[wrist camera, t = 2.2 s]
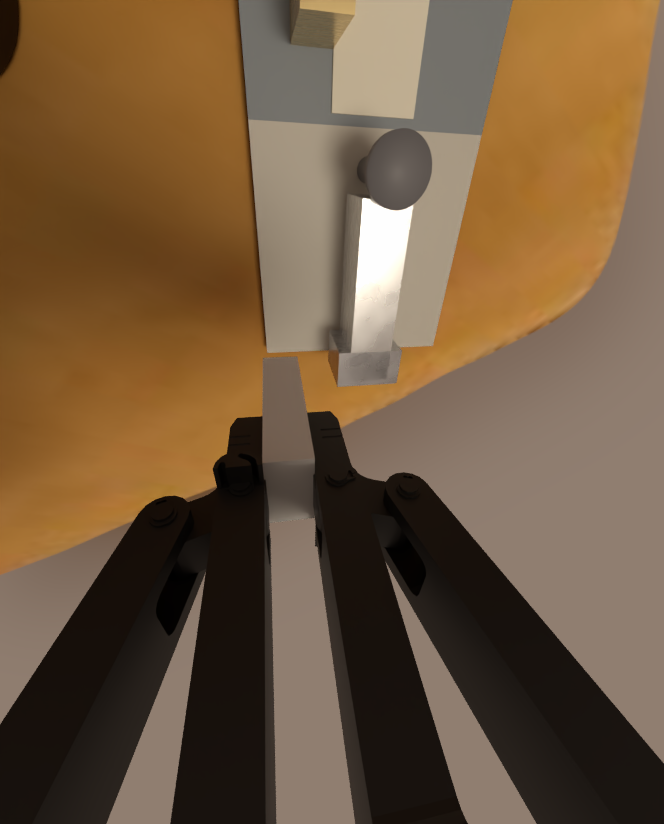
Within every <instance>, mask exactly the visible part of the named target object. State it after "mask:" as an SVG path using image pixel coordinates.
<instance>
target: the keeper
mask: <svg viewBox="0 0 664 824" xmlns="http://www.w3.org/2000/svg"><path fill="white" fill-rule="evenodd" d="M355 5H356V0H289V9H290V45H298V46H307V47H317V48H326V49H334V47H335V45H336V44H337V42H338V41H339V39H340V38H341V36H342V35H343V33H344V31H345V30H346V28H347V27H348V25H349V24H350V22H351V21H352V19H353V17H354V16H355Z"/></svg>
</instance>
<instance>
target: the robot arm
mask: <svg viewBox="0 0 664 824" xmlns="http://www.w3.org/2000/svg"><path fill="white" fill-rule="evenodd" d="M213 472H214V476H215V481H216V485H217V489H216V490H214V491H213V492H211V493H210V494H209V495H206V496H204V497H202V498H199V499H196V500H193V501H190V502H187V501H186V500H185V499H183V498H181V497H178V496H165V497H162V498H159V499H156V500H154V501H152V502H151V503H149V504H148V505H146V506H145V507H144V508H143V509H142V510H141V512H140V513H139V514H138V516H137V517H136V519H135V520H134V522H133V523H132V525H131V526H130V528H129V529H128V531H127V532H126V534H125V535H124V537H123V538H122V540H121V541H120V543H119V545H118V546H117V548H116V549H115V551H114V552H113V554H112V555H111V557H110V558H109V560H108V561H107V563H106V564H105V566H104V567H103V569H102V570H101V572H100V573H99V575H98V577H97V578H96V579H95V581H94V583H93V584H92V586H91V587H90V589H89V590H88V592H87V593H86V595H85V596H84V598H83V599H82V601H81V602H80V604H79V605H78V607H77V608H76V610H75V611H74V613H73V615H72V616H71V618H70V619H69V621H68V622H67V624H66V625H65V627H64V628H63V630H62V631H61V633H60V634H59V636H58V637H57V639H56V640H55V642H54V643H53V645H52V646H51V648H50V650H49V651H48V652H47V654H46V656H45V657H44V659H43V660H42V662H41V663H40V665H39V666H38V668H37V669H36V671H35V672H34V674H33V675H32V677H31V678H30V680H29V682H28V683H27V684H26V686H25V688H24V689H23V691H22V692H21V694H20V695H19V697H18V698H17V700H16V701H15V703H14V704H13V706H12V707H11V709H10V710H9V712H8V713H7V715H6V717H5V718H4V719H3V721H2V723H1V724H0V824H106V823H107V821H108V818H109V815H110V812H111V810H112V808H113V805H114V803H115V800H116V798H117V795H118V793H119V790H120V788H121V785H122V782H123V780H124V777H125V775H126V772H127V770H128V767H129V764H130V762H131V760H132V757H133V755H134V752H135V749H136V747H137V744H138V742H139V739H140V737H141V734H142V732H143V729H144V727H145V724H146V722H147V719H148V716H149V714H150V711H151V709H152V706H153V704H154V701H155V699H156V696H157V694H158V691H159V689H160V686H161V683H162V681H163V678H164V676H165V673H166V671H167V668H168V666H169V663H170V661H171V658H172V656H173V653H174V651H175V648H176V646H177V643H178V640H179V638H180V635H181V633H182V630H183V628H184V625H185V623H186V620H187V618H188V615H189V613H190V610H191V607H192V605H193V602H194V600H195V597H196V595H197V592H198V590H199V587H200V585H201V582H202V580H203V577H204V574H205V572H206V575H205V582H204V589H203V597H202V604H201V610H200V617H199V618H200V619H199V625H198V632H197V640H196V647H195V653H194V660H193V667H192V675H191V681H190V688H189V696H188V703H187V710H186V717H185V724H184V731H183V738H182V745H181V753H180V759H179V766H178V774H177V781H176V788H175V795H174V802H173V809H172V816H171V823H170V824H276V790H275V789H276V786H275V738H274V737H275V736H274V692H273V691H274V689H273V638H272V593H271V591H272V590H271V589H272V588H271V539H270V530H269V523H272V522H281V521H290V520H299V519H308V518H314V515H315V521H316V532H315V533H316V534H315V536H316V537H315V546H317V547H318V554H319V562H320V569H321V576H322V584H323V591H324V598H325V606H326V612H327V620H328V627H329V635H330V642H331V649H332V656H333V664H334V671H335V678H336V686H337V693H338V700H339V708H340V714H341V722H342V729H343V736H344V744H345V751H346V759H347V766H348V773H349V780H350V788H351V795H352V802H353V810H354V817H355V824H468V823H467V821H466V819H465V817H464V815H463V812H462V810H461V807H460V805H459V802H458V799H457V796H456V792H455V789H454V786H453V783H452V780H451V776H450V773H449V770H448V766H447V763H446V760H445V756H444V753H443V750H442V747H441V743H440V740H439V737H438V733H437V730H436V727H435V723H434V720H433V717H432V714H431V710H430V707H429V704H428V701H427V697H426V694H425V691H424V687H423V684H422V681H421V678H420V674H419V671H418V668H417V664H416V661H415V658H414V654H413V651H412V648H411V645H410V641H409V638H408V635H407V632H406V628H405V625H404V622H403V618H402V615H401V612H400V608H399V605H398V602H397V598H396V595H395V592H394V589H393V585H392V582H391V579H390V575H389V572H388V569H387V566H386V563H387V565H388V566H389V568H390V570H391V572H392V573H393V575H394V577H395V579H396V580H397V582H398V584H399V586H400V587H401V589H402V591H403V592H404V594H405V596H406V598H407V599H408V601H409V603H410V604H411V606H412V608H413V610H414V612H415V613H416V615H417V617H418V618H419V620H420V622H421V624H422V625H423V627H424V629H425V631H426V632H427V634H428V636H429V638H430V639H431V641H432V643H433V644H434V646H435V648H436V649H437V651H438V653H439V655H440V656H441V658H442V660H443V662H444V663H445V665H446V667H447V669H448V670H449V672H450V674H451V676H452V677H453V679H454V681H455V683H456V684H457V686H458V688H459V689H460V691H461V693H462V695H463V697H464V698H465V700H466V702H467V703H468V705H469V707H470V709H471V710H472V712H473V714H474V716H475V717H476V719H477V721H478V722H479V724H480V726H481V728H482V729H483V731H484V733H485V735H486V736H487V738H488V740H489V742H490V743H491V745H492V747H493V748H494V750H495V752H496V754H497V755H498V757H499V759H500V761H501V762H502V764H503V766H504V768H505V769H506V771H507V773H508V775H509V776H510V778H511V780H512V781H513V783H514V785H515V787H516V788H517V790H518V792H519V794H520V795H521V797H522V799H523V801H524V802H525V804H526V806H527V808H528V809H529V811H530V813H531V814H532V816H533V818H534V820H535V821H536V823H537V824H664V763H663V762H662V761H661V760H660V759H659V757H658V756H657V755H656V754H655V753H654V751H653V750H652V749H651V748H650V747H649V746H648V744H647V743H646V742H645V741H644V740H643V739H642V737H641V736H640V735H639V734H638V733H637V731H636V730H635V729H634V728H633V727H632V725H631V724H630V723H629V722H628V721H627V720H626V718H625V717H624V716H623V715H622V714H621V713H620V711H619V710H618V709H617V708H616V707H615V705H614V704H613V703H612V702H611V701H610V699H609V698H608V697H607V696H606V695H605V694H604V693H603V691H602V690H601V689H600V688H599V686H598V685H597V684H596V683H595V682H594V681H593V679H592V678H591V677H590V676H589V675H588V673H587V672H586V671H585V670H584V669H583V667H582V666H581V665H580V664H579V663H578V662H577V661H576V659H575V658H574V657H573V656H572V654H571V653H570V652H569V651H568V650H567V649H566V647H565V646H564V645H563V644H562V643H561V642H560V641H559V639H558V638H557V637H556V636H555V634H554V633H553V632H552V631H551V630H550V628H549V627H548V626H547V625H546V624H545V623H544V621H543V620H542V619H541V618H540V617H539V615H538V614H537V613H536V612H535V611H534V610H533V608H532V607H531V606H530V605H529V604H528V602H527V601H526V600H525V599H524V598H523V596H522V595H521V594H520V593H519V592H518V591H517V589H516V588H515V587H514V586H513V585H512V583H510V581H509V580H508V579H507V578H506V576H505V575H504V574H503V573H502V572H501V571H500V569H499V568H498V567H497V566H496V565H495V563H494V562H493V561H492V560H491V559H490V557H489V556H488V555H487V554H486V553H485V552H484V550H483V549H482V548H481V547H480V546H479V544H478V543H477V542H476V541H475V540H474V539H473V537H472V536H471V535H470V534H469V533H468V531H467V530H466V529H465V528H464V527H463V526H462V524H461V523H460V522H459V521H458V520H457V518H456V517H455V516H454V515H453V514H452V512H451V511H450V510H449V509H448V508H447V507H446V505H445V504H444V503H443V502H442V501H441V499H440V498H439V497H438V496H437V495H436V494H435V493H434V491H433V490H432V489H431V488H430V487H429V485H428V484H427V483H426V482H425V481H424V480H423V479H421V478H420V477H418V476H416V475H413V474H410V473H396V474H394V475H392V476H390V477H389V479H388V480H387V481H386V482H384V481H378V480H372V479H368V478H366V477H363V476H361V475H360V474H358V473H357V471H356V470H355V469H354V468H353V467H352V465H351V463H350V459H349V456H348V453H347V449H346V446H345V442H344V439H343V437H342V432H341V430H340V425H339V422H338V419H337V418H336V417H335V416H334V415H333V414H332V413H331V412H330V411H325V412H310V413H307V410H306V404H305V399H304V393H303V387H302V382H301V376H300V370H299V364H298V359H297V357H276V358H263V416H261V417H246V418H237V419H236V420H235V422H234V423H233V424H232V426H231V427H230V434H229V442H228V450H227V454H226V455H224V456H222V457H221V458H220V459H219V460H217V461H216V463H215V465H214V467H213ZM385 561H386V562H385Z"/></svg>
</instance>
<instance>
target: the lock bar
mask: <svg viewBox="0 0 664 824" xmlns="http://www.w3.org/2000/svg"><path fill="white" fill-rule="evenodd" d="M412 210H413V205H412V206H410V207H408V208H406V209H403V210H399V211H393V210H388V209H385V208H383V207H381V206H379V205H377V204H376V203H375V202H374V201H373V200H372V198H371V197H370V195H369V194H351V193H347V203H346V222H345V240H344V259H343V277H342V296H341V314H340V330H329V355H328V361H329V364H330V367H331V370H332V373H333V376H334V378H335V381H336V384H337V387H341V386H358V385H375V384H392V383H396V382H397V376H398V370H399V364H400V359H401V353H402V350H401V349H400V348H399V346H398V345H397V344H396V343H395V341H394V340H393V334H394V327H395V321H396V314H397V308H398V301H399V295H400V288H401V282H402V275H403V269H404V262H405V256H406V249H407V242H408V236H409V229H410V223H411V216H412Z"/></svg>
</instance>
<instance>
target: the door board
mask: <svg viewBox="0 0 664 824" xmlns="http://www.w3.org/2000/svg"><path fill="white" fill-rule="evenodd" d="M512 1H513V0H356V5H355V16H354V17H353V19H352V21H351V22H350V24H349V25H348V27H347V28H346V30H345V31H344V33H343V35H342V36H341V38H340V39H339V41H338V42H337V44H336V45H335V47H334V49H326V48H317V47H307V46H298V45H290V9H289V0H239V13H240V25H241V37H242V49H243V62H244V74H245V86H246V98H247V111H248V123H249V135H250V147H251V160H252V172H253V184H254V196H255V209H256V221H257V233H258V245H259V258H260V270H261V282H262V294H263V307H264V319H265V331H266V343H267V353H273V352H297V351H321V350H329V330H340V314H341V296H342V277H343V259H344V240H345V222H346V203H347V193H351V194H369V195H370V197H371V198H372V200H373V201H374V202H375V203H376V204H377V205H379V206H381V207H383V208H385V209H388V210H393V211H399V210H403V209H406V208H408V207H410V206H412V205H413V210H412V216H411V223H410V229H409V236H408V242H407V249H406V256H405V262H404V269H403V275H402V282H401V288H400V295H399V301H398V308H397V314H396V321H395V327H394V334H393V340H394V341H395V343H396V344H397V345H398V346H399V347H417V346H433V343H434V338H435V334H436V330H437V325H438V321H439V317H440V312H441V308H442V304H443V299H444V295H445V291H446V287H447V282H448V278H449V274H450V269H451V265H452V261H453V256H454V252H455V248H456V243H457V239H458V235H459V230H460V226H461V222H462V217H463V213H464V209H465V204H466V200H467V196H468V191H469V187H470V183H471V178H472V174H473V170H474V165H475V161H476V157H477V152H478V148H479V144H480V139H481V135H482V131H483V127H484V122H485V118H486V114H487V109H488V105H489V101H490V96H491V92H492V88H493V83H494V79H495V75H496V70H497V66H498V62H499V57H500V53H501V49H502V44H503V40H504V36H505V31H506V27H507V23H508V18H509V14H510V10H511V5H512Z"/></svg>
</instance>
